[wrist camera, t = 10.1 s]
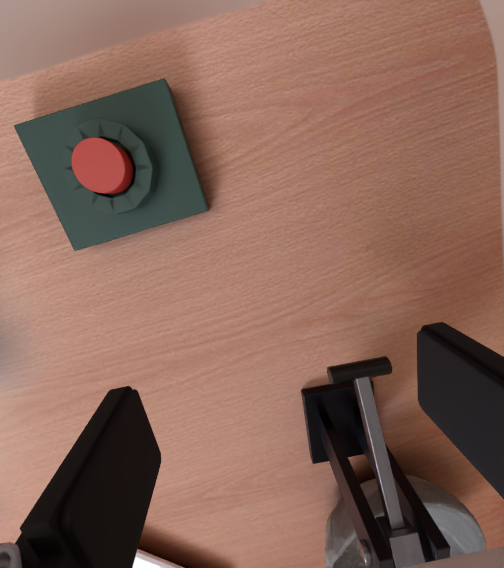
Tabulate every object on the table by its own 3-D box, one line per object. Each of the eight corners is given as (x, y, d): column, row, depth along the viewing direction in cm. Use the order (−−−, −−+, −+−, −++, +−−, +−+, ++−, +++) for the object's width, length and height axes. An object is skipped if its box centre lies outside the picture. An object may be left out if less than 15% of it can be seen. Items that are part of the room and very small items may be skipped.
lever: (324, 365, 25) (331, 369, 22) (379, 354, 25) (392, 357, 22) (366, 559, 22) (379, 586, 20) (427, 546, 22) (448, 572, 20)
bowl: (456, 446, 36) (516, 512, 29) (420, 541, 41) (463, 619, 33) (322, 443, 35) (348, 512, 27) (301, 542, 39) (318, 625, 32)
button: (121, 136, 20) (112, 130, 19) (141, 185, 22) (133, 184, 20) (75, 150, 21) (61, 145, 19) (96, 199, 22) (85, 199, 20)
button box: (170, 89, 23) (158, 66, 19) (210, 210, 26) (206, 211, 22) (33, 132, 23) (-7, 118, 19) (87, 247, 26) (62, 255, 22)
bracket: (300, 389, 32) (354, 537, 18) (368, 376, 32) (475, 514, 18) (310, 455, 35) (363, 628, 21) (372, 443, 35) (466, 607, 21)
